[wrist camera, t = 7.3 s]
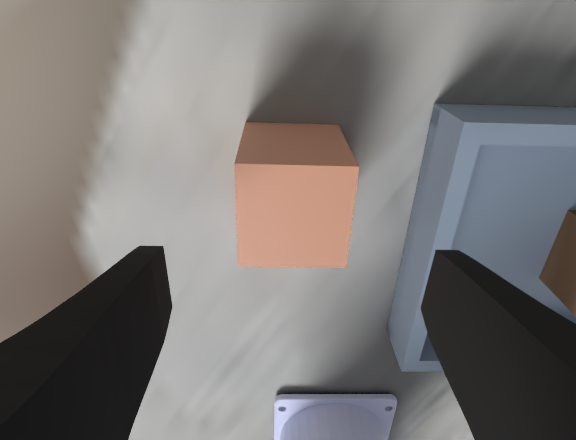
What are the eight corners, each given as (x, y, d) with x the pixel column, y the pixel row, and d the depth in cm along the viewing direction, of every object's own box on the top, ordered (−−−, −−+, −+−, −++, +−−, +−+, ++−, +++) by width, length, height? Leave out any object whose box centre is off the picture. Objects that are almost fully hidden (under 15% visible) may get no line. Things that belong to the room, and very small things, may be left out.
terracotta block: (329, 206, 19) (346, 267, 14) (247, 204, 19) (238, 266, 14) (338, 124, 17) (359, 166, 12) (245, 121, 17) (234, 163, 12)
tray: (601, 330, 23) (642, 372, 20) (386, 329, 23) (400, 371, 20) (728, 111, 17) (811, 131, 14) (434, 103, 16) (464, 122, 14)
